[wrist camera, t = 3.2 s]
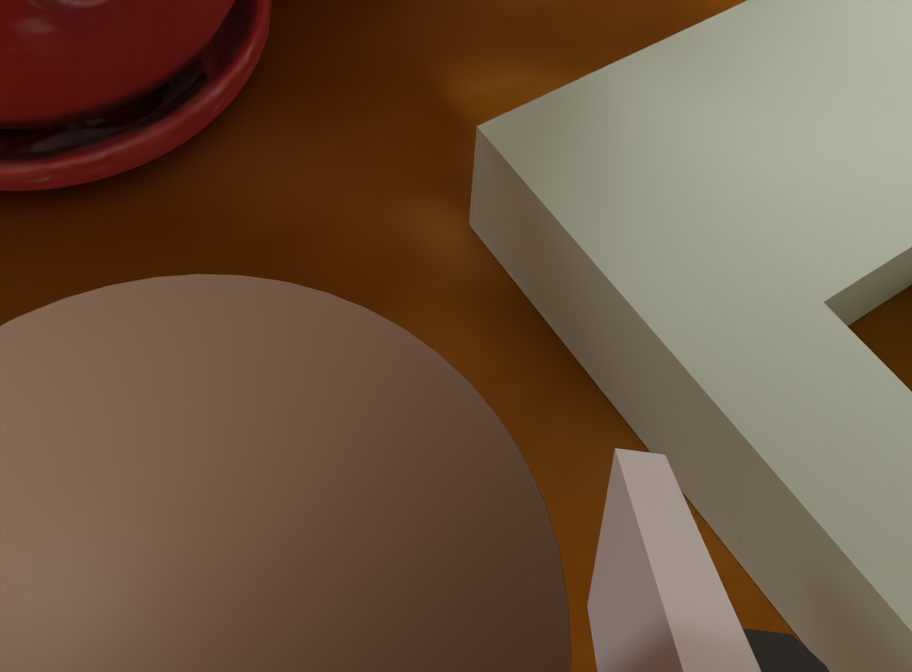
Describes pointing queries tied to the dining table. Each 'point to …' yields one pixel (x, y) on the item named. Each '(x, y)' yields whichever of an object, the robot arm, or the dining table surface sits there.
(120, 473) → the peg
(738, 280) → the board
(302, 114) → the dining table surface
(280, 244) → the dining table surface
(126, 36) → the plant pot
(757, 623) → the dining table surface
